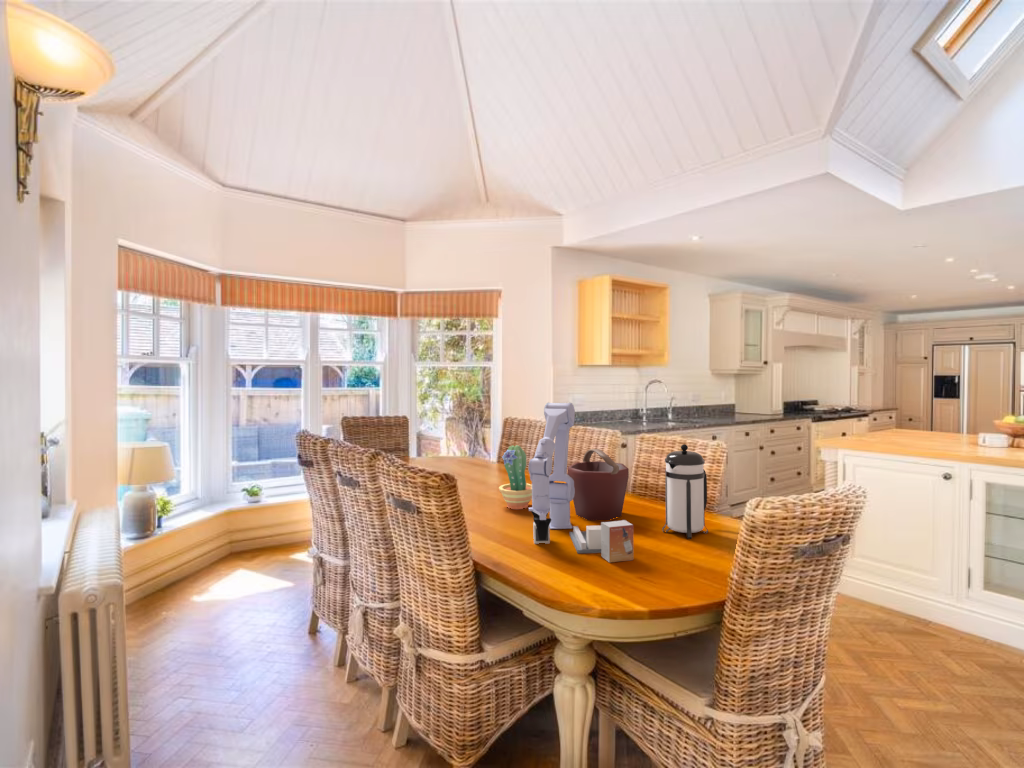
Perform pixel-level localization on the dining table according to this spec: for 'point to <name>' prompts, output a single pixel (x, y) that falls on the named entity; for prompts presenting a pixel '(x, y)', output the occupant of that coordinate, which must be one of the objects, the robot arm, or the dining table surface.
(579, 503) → the bucket
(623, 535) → the small box
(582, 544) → the rail plate
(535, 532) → the block
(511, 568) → the dining table surface
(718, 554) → the dining table surface
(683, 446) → the coffee press
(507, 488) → the potted cactus
